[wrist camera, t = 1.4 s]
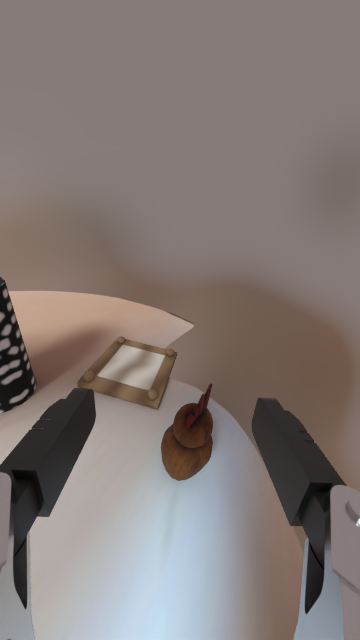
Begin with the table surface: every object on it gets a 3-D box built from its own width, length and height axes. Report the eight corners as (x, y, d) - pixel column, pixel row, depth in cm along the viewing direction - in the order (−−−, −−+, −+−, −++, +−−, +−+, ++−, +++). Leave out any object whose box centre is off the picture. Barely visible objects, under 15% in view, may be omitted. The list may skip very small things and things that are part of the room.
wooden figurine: (190, 434, 32) (210, 367, 24) (211, 471, 27) (243, 404, 20) (152, 453, 28) (163, 382, 21) (169, 498, 24) (190, 429, 17)
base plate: (78, 386, 36) (76, 378, 35) (118, 341, 50) (118, 334, 49) (157, 409, 35) (158, 401, 34) (176, 356, 49) (177, 349, 47)
